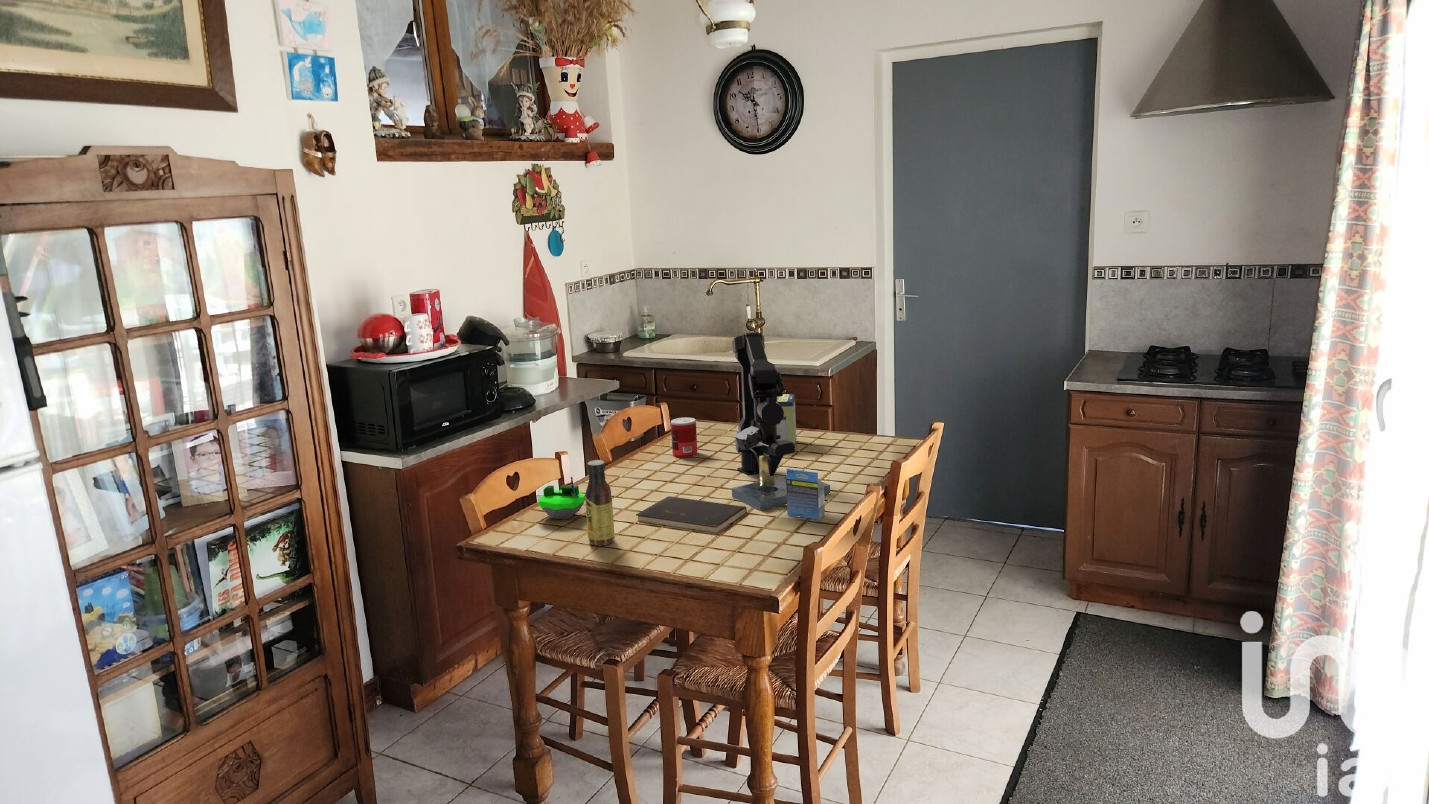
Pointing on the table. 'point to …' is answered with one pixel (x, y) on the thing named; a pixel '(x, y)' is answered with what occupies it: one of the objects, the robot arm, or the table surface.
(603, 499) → the sauce bottle
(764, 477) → the cylinder
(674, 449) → the canned food
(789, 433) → the protein box
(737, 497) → the jig
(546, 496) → the green floating island model
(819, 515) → the label tape box
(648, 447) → the table surface
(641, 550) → the table surface
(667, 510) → the hardcover book
